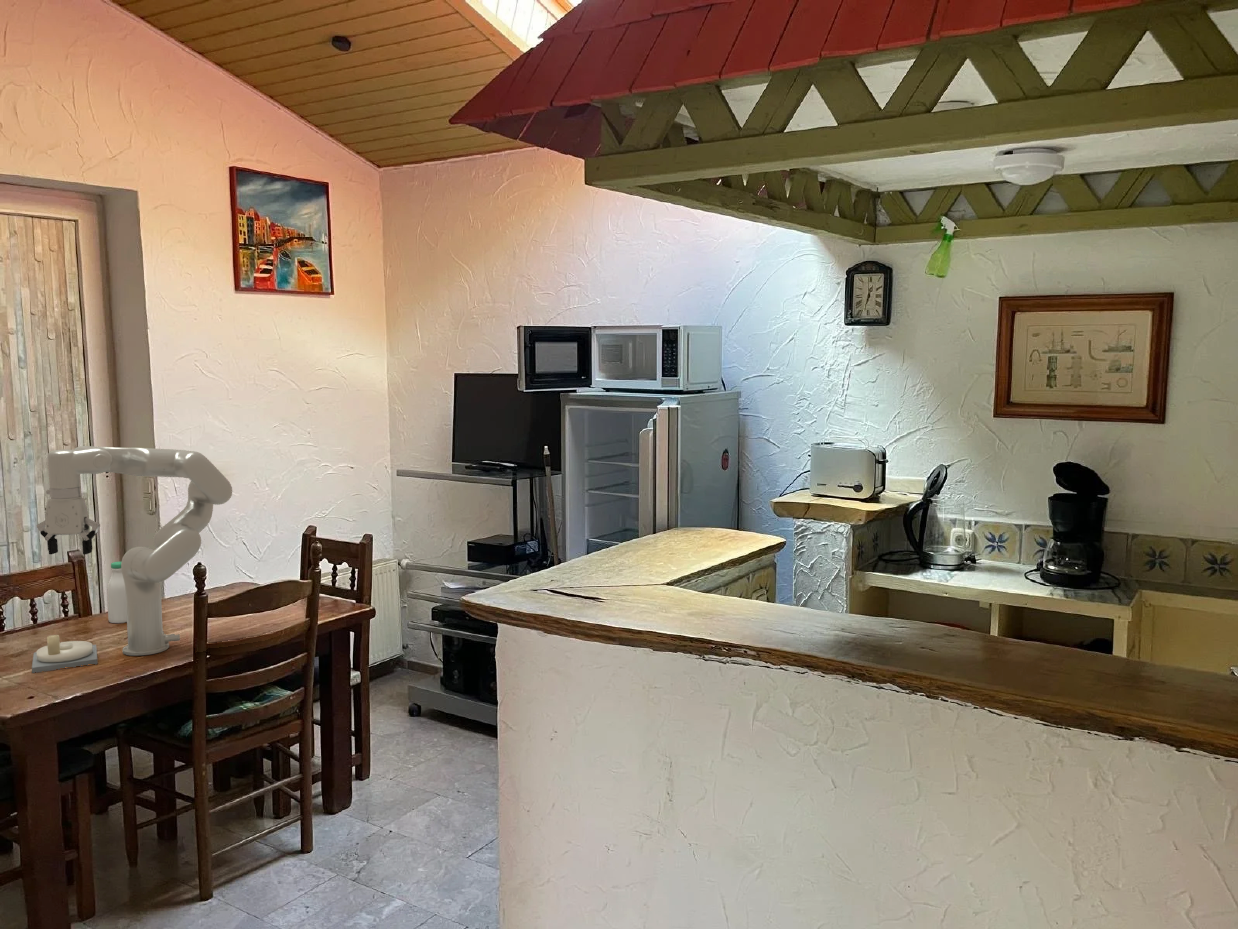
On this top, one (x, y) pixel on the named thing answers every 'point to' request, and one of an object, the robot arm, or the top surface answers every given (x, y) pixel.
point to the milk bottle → (116, 595)
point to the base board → (48, 666)
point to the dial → (63, 650)
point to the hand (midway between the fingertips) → (70, 553)
